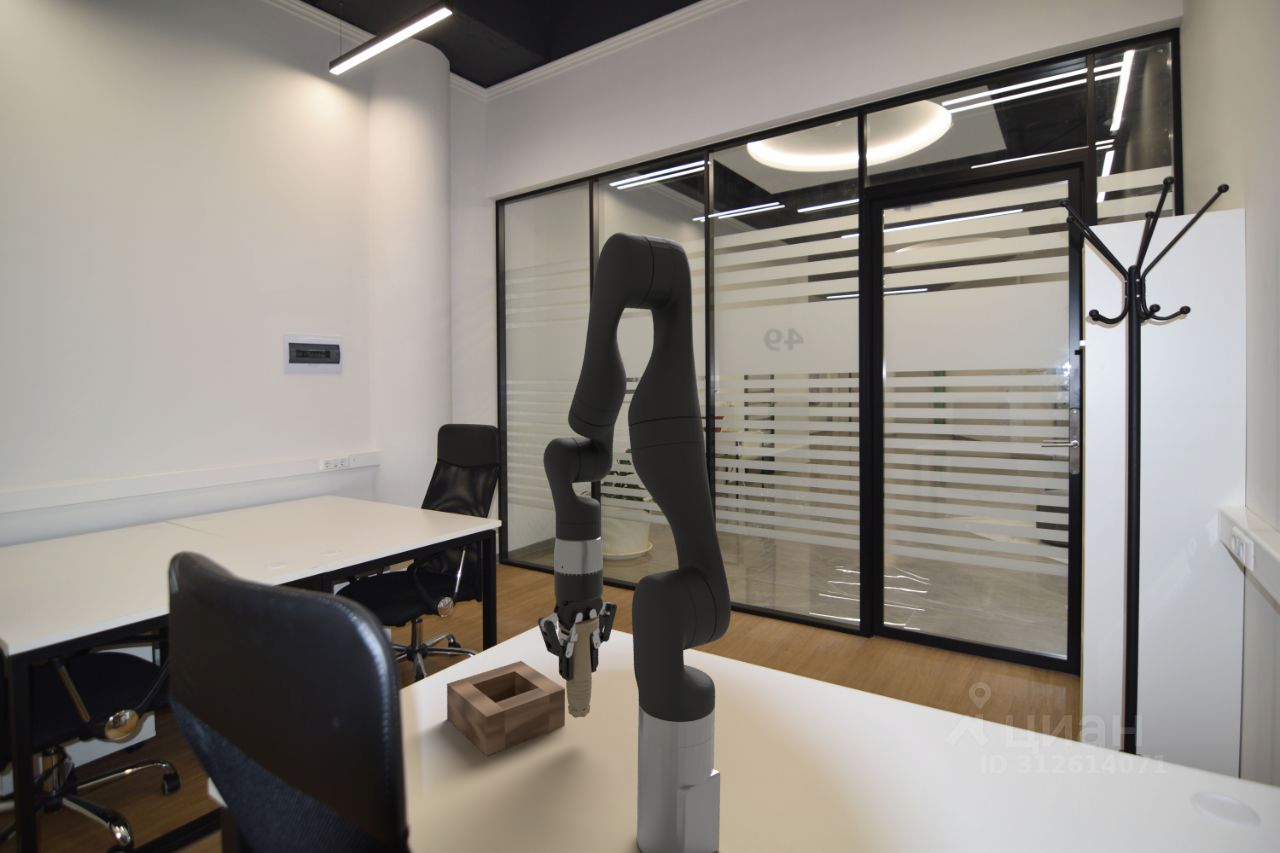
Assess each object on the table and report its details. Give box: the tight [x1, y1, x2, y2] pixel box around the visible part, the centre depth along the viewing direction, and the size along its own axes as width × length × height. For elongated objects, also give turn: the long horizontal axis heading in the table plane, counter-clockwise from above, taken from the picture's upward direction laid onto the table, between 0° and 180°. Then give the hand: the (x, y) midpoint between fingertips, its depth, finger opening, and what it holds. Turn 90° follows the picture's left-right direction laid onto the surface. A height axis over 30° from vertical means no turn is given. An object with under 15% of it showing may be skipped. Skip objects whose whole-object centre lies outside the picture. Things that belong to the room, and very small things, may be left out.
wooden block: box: [446, 660, 566, 757], centre depth 103 cm, size 14×14×6 cm
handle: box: [557, 616, 599, 719], centre depth 98 cm, size 5×6×15 cm
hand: (579, 674), depth 98 cm, fingers closed on handle, 4 cm apart
